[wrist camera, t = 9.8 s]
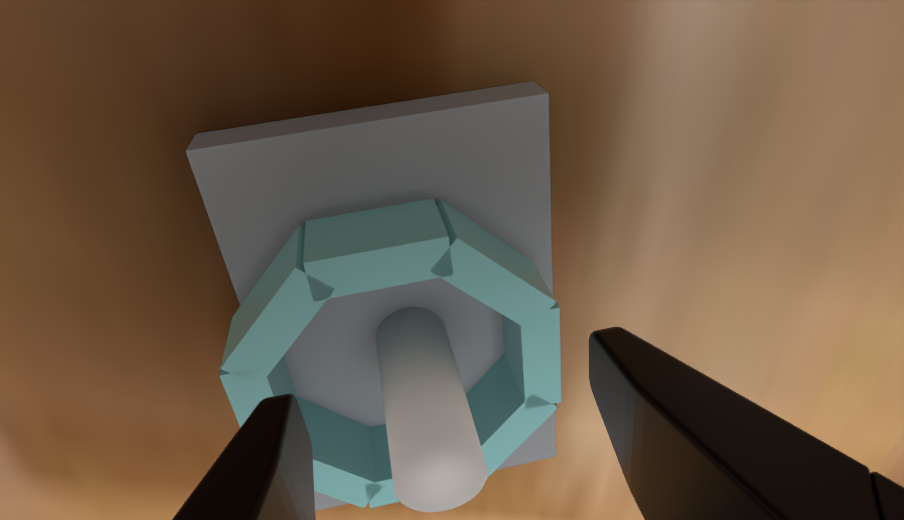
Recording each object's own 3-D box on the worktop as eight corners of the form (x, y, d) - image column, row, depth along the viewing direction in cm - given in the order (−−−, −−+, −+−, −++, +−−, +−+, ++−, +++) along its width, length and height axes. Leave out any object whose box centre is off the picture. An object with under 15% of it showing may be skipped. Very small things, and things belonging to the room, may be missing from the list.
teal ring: (530, 181, 18) (558, 216, 16) (540, 413, 23) (561, 464, 21) (200, 239, 17) (182, 285, 15) (285, 469, 22) (281, 528, 20)
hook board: (532, 80, 18) (648, 168, 12) (544, 429, 26) (617, 598, 19) (196, 133, 17) (116, 262, 10) (313, 480, 24) (309, 677, 18)
